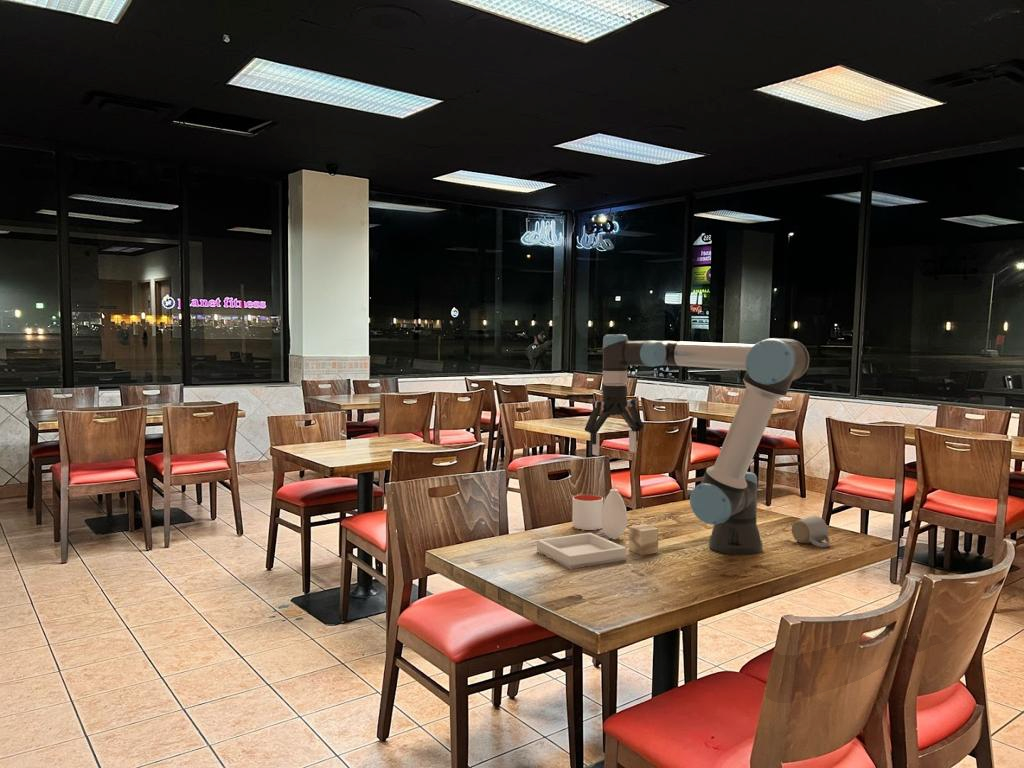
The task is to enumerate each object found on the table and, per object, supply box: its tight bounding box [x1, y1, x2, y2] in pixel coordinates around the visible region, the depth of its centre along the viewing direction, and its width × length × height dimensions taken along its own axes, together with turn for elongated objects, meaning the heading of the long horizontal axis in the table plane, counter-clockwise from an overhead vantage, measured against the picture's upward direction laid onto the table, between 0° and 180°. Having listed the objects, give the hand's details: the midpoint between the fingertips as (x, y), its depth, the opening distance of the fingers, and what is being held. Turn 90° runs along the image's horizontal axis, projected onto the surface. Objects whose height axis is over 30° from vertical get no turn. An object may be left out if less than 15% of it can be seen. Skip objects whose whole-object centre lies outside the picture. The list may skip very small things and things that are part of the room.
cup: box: [571, 494, 604, 531], centre depth 241 cm, size 10×10×10 cm
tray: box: [536, 532, 627, 570], centre depth 210 cm, size 18×18×4 cm
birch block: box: [628, 523, 659, 556], centre depth 214 cm, size 6×6×7 cm
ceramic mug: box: [791, 515, 831, 548], centre depth 222 cm, size 11×8×8 cm
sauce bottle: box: [601, 480, 628, 540], centre depth 227 cm, size 8×8×18 cm
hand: (614, 453), depth 227 cm, fingers open, 13 cm apart
